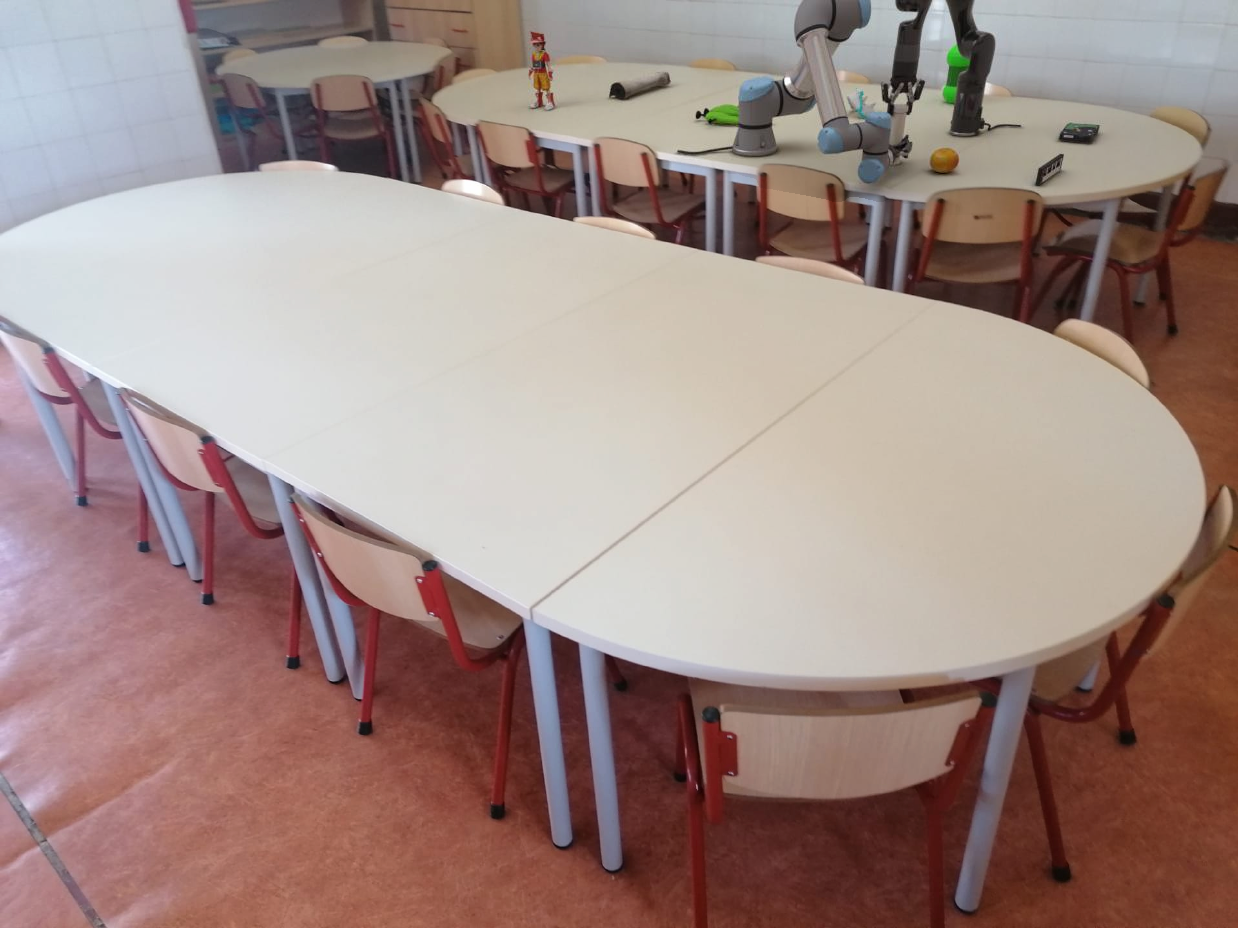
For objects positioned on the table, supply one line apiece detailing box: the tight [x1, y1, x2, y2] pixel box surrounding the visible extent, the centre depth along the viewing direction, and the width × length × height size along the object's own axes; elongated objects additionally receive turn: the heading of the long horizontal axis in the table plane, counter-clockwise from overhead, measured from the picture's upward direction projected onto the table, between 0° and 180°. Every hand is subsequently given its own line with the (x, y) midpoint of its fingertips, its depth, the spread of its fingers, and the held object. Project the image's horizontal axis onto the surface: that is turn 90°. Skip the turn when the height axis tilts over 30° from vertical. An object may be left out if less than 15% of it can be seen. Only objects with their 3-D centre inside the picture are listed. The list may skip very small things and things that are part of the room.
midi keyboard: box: [1035, 153, 1065, 186], centre depth 273 cm, size 18×1×5 cm, turn 138°
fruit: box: [929, 147, 960, 174], centre depth 283 cm, size 8×8×8 cm
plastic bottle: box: [942, 43, 970, 104], centre depth 348 cm, size 10×10×25 cm
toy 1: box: [527, 31, 556, 111], centre depth 374 cm, size 12×9×30 cm
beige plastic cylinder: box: [889, 112, 907, 166], centre depth 290 cm, size 4×4×17 cm
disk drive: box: [1058, 122, 1101, 144], centre depth 307 cm, size 10×3×15 cm
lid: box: [893, 103, 909, 113], centre depth 285 cm, size 5×5×2 cm
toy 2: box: [695, 103, 739, 125], centre depth 347 cm, size 28×5×30 cm
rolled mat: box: [608, 71, 672, 101], centre depth 395 cm, size 30×9×10 cm
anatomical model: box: [846, 87, 877, 119], centre depth 344 cm, size 15×10×10 cm
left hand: (898, 138), depth 295 cm, fingers closed on beige plastic cylinder, 4 cm apart
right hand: (898, 115), depth 287 cm, fingers closed on lid, 5 cm apart
